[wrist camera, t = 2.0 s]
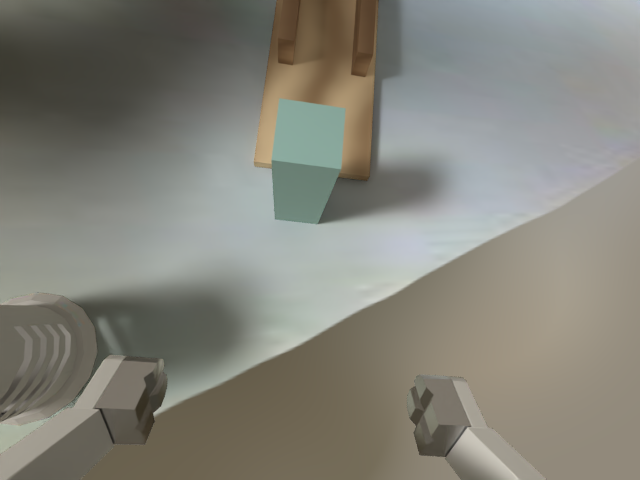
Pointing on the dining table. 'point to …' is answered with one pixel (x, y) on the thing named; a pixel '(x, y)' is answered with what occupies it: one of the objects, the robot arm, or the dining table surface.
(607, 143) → the dining table surface
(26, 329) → the french press
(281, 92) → the slot board
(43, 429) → the robot arm
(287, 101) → the tab
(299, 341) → the dining table surface
